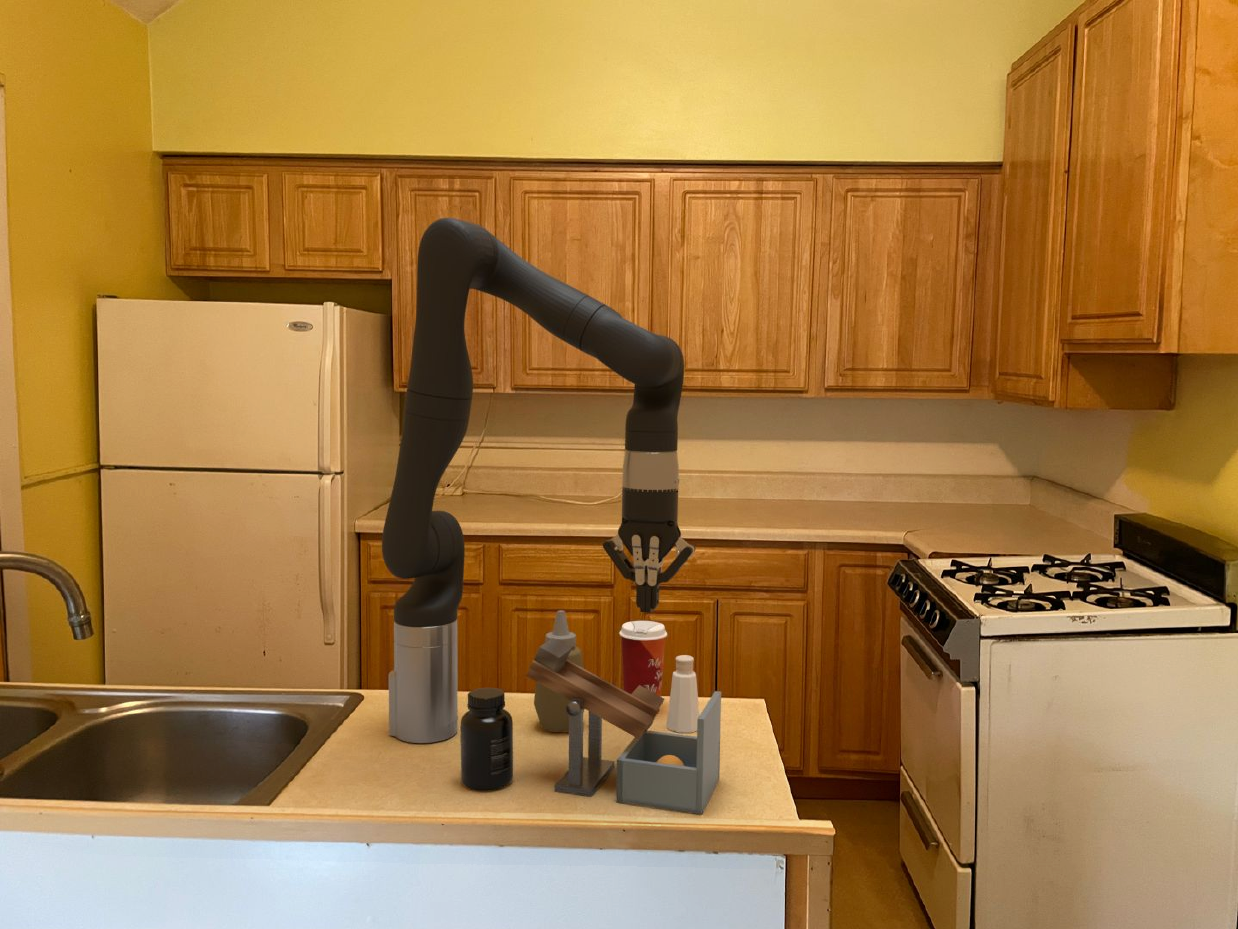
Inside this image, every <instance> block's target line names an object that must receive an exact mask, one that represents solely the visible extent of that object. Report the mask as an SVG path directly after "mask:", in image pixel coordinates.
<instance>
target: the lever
mask: <svg viewBox="0 0 1238 929" xmlns="http://www.w3.org/2000/svg"><path fill="white" fill-rule="evenodd" d="M571 649H572V648H571V647H569V646H567V645H565V644H563V643H562V642H560V641H558V640H556V639H554V638H552V639H550V640H549V641H547V642H546V643H545V642H544V643H543V644H542V645H540V646H539V647H538V649H537V652H536V654H535V657H534V658H533V660H532V661H531V663H530V665H529V668H528V670H527V673H526V675H525V676H526V677H527V678H529V679H531V680H533V681H534V682H535V683H536V682H538V683H540V684H541V685H543V686H545V687H547V688H549V689H550V690H552V691H554V692H556V693H558V694H559V695H561V696H563V697H565V698H566V699H568V700H570V699H571V698H575V699H584V703H583V708H584V709H585V710H586V711H588V712H589V711H590V712H591V713H593V714H595V715H597V716H598V717H600V718H602V720H604V721H606V722H608V723H609V724H611V725H613V726H614V727H616V728H618V729H619V730H622V731H624V732H626V734H627V733H628V735H631V736H632V737H633V738H634V737H636V738H638V739H639V740H640V739H641V738H642V736H643V735H644V734H645V732H646V731H649V728H650V727H651V726H652V725H653V722H654V721H655V719H656V716H657V715H658V714H657V712H658V709H659V707H660V708H661V706H662V705H663V703H664V701H665V698H664V697H663V696H661V697H660V696H659V695H657V694H655V693H653V692H651V691H649V690H648V689H646V688H644V687H642V686H640V685H639V686H638V687H637V688H636V689H635V691H634V692H633V693H632V694H629V693H627V692H626V691H624V689H622V688H620V687H618V686H616V685H615V684H613V683H611V682H609V681H607V680H605V679H604V678H602V677H601V676H598V675H596V674H595V673H594V672H591V671H589V670H588V669H585V668H584V667H583V668H582V667H580V666H578V665H577V664H575V663H573V662H571V661H569V660H567V658H568V656H569V653H570V651H571ZM659 710H660V709H659Z"/></svg>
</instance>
